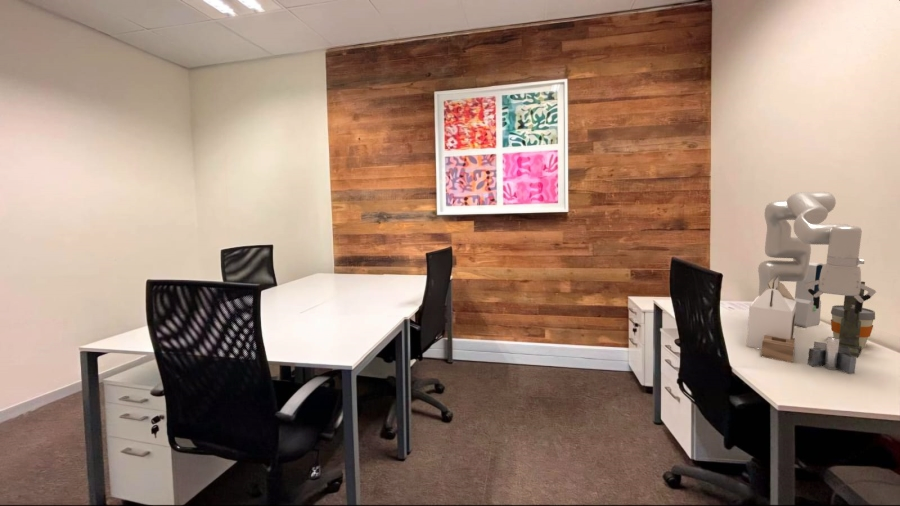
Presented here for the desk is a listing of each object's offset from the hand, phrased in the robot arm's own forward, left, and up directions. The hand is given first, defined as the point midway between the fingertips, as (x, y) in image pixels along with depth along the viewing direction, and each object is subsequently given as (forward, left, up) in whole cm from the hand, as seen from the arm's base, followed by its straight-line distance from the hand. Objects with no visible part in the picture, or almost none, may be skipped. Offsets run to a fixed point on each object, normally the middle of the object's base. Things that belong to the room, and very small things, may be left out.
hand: (836, 310), depth 134 cm
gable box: (-18, -17, -22) cm, 33 cm away
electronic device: (-60, -7, -21) cm, 64 cm away
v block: (-4, 0, -21) cm, 21 cm away
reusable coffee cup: (-36, +7, -21) cm, 42 cm away
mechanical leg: (-24, +6, -21) cm, 32 cm away
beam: (-4, -14, -21) cm, 26 cm away
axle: (0, 0, -21) cm, 21 cm away
